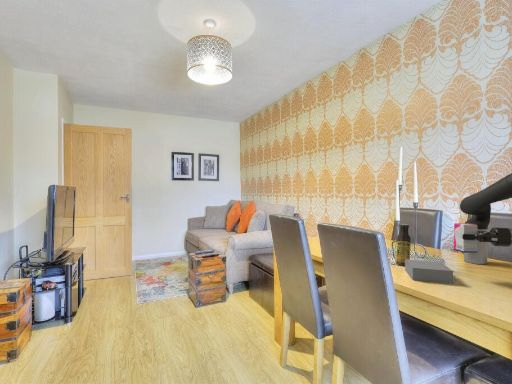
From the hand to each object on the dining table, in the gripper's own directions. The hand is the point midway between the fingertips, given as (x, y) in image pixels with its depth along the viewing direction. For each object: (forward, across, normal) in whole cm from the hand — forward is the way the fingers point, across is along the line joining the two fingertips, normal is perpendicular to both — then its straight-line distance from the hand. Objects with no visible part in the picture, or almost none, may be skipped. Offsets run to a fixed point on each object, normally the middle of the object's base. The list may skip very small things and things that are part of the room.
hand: (459, 235), depth 114 cm
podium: (+12, +3, +18) cm, 22 cm away
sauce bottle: (+18, -14, +18) cm, 29 cm away
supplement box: (-2, 0, +7) cm, 7 cm away
